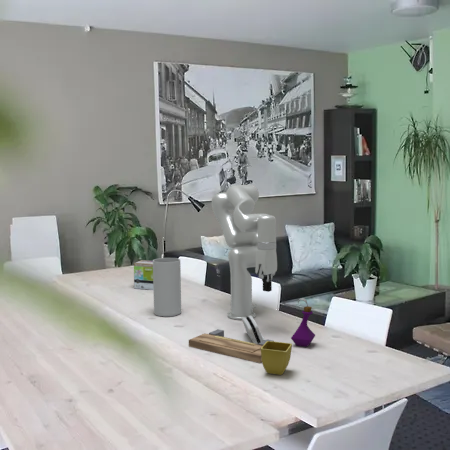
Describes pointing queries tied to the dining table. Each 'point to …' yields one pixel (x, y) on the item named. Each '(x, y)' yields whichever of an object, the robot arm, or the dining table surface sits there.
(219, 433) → the dining table surface
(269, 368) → the flower pot
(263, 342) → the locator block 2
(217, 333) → the locator block
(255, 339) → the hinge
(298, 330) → the perfume bottle
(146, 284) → the tea box
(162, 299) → the cylinder vase
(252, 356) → the wooden plank
